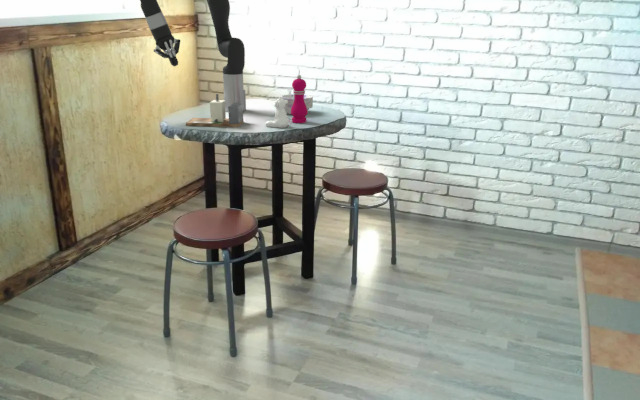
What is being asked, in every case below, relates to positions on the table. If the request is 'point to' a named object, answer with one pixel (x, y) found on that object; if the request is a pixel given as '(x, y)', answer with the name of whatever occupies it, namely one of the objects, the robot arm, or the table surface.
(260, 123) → the table surface
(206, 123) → the brown wooden board
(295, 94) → the pepper mill
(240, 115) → the grey rectangular block
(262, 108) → the table surface
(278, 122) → the white creature statuette
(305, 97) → the paper bowls
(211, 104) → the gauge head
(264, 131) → the table surface
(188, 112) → the table surface
